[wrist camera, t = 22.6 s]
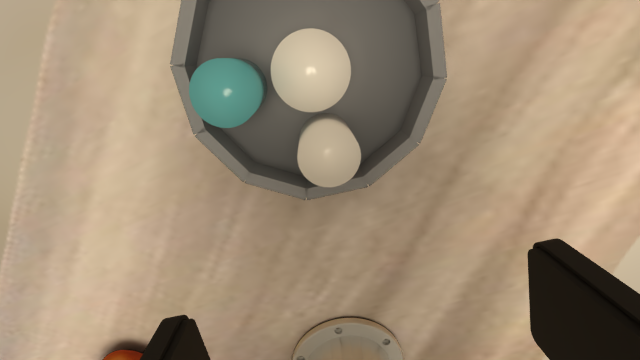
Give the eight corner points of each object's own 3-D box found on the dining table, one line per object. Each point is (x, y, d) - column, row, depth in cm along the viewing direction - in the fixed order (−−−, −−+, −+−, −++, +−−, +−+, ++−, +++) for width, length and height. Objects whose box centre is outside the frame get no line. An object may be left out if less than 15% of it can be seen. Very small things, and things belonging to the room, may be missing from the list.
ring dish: (442, 157, 33) (459, 170, 30) (229, 204, 34) (219, 222, 30) (414, -102, 27) (431, -128, 23) (150, -37, 27) (125, -52, 24)
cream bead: (355, 158, 32) (365, 180, 26) (305, 169, 32) (305, 193, 27) (346, 107, 31) (354, 119, 25) (293, 119, 31) (290, 133, 25)
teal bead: (273, 108, 30) (265, 120, 25) (221, 120, 31) (201, 134, 25) (259, 52, 29) (247, 50, 23) (204, 64, 29) (179, 66, 23)
